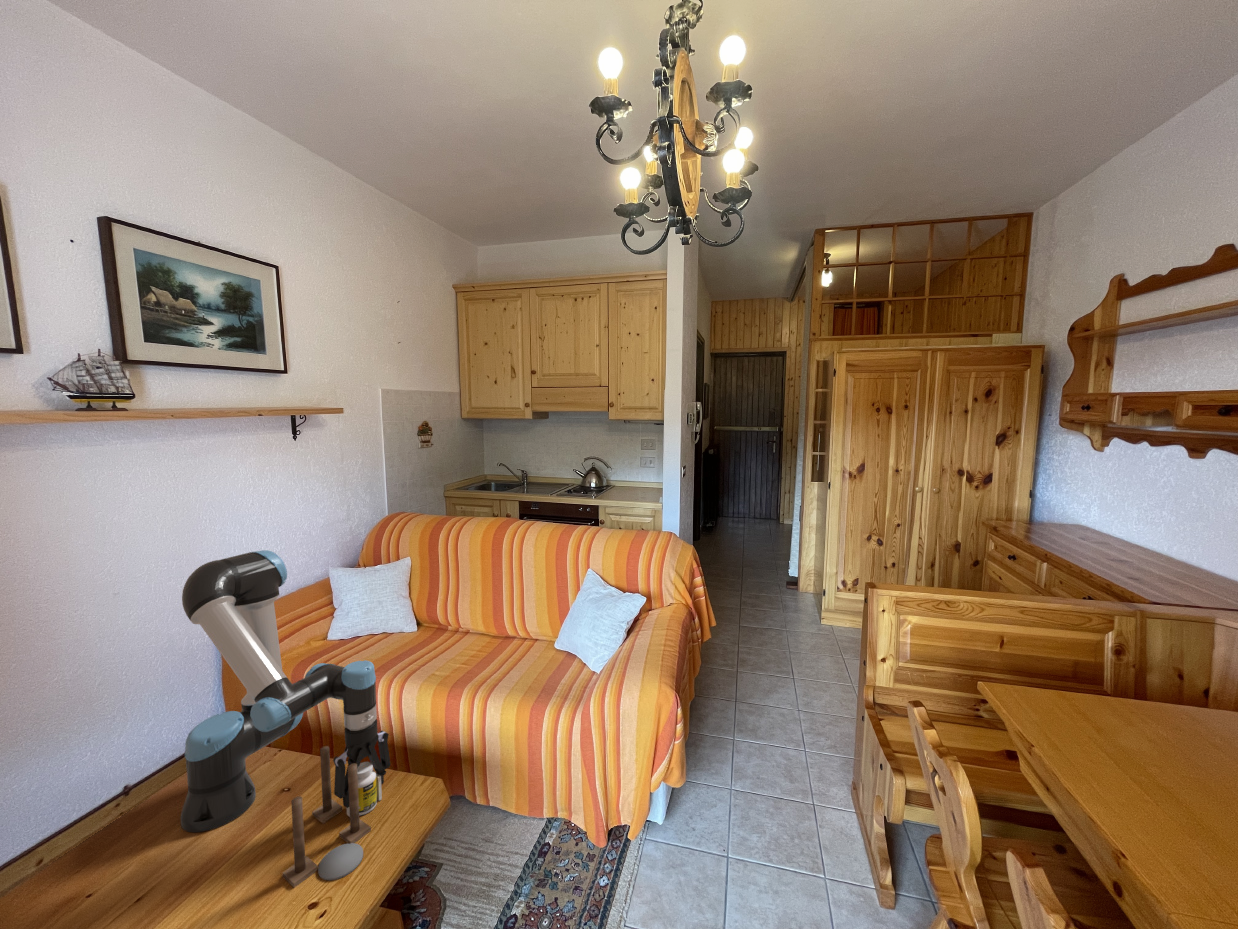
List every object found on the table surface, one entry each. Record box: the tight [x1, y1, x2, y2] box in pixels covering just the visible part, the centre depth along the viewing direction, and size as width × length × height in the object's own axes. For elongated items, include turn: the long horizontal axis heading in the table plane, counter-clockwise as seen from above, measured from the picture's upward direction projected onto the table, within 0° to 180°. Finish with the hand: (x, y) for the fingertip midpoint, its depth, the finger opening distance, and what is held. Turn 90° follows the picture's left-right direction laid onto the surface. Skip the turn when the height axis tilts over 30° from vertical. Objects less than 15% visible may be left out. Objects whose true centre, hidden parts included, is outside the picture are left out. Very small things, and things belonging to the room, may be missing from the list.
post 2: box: [311, 745, 344, 824], centre depth 125 cm, size 5×5×18 cm
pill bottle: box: [357, 761, 378, 816], centre depth 127 cm, size 6×6×11 cm
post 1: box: [282, 795, 319, 889], centre depth 108 cm, size 5×5×18 cm
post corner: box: [338, 763, 372, 844], centre depth 119 cm, size 5×5×18 cm
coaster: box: [317, 842, 364, 881], centre depth 111 cm, size 9×9×1 cm
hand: (364, 806), depth 127 cm, fingers open, 6 cm apart
